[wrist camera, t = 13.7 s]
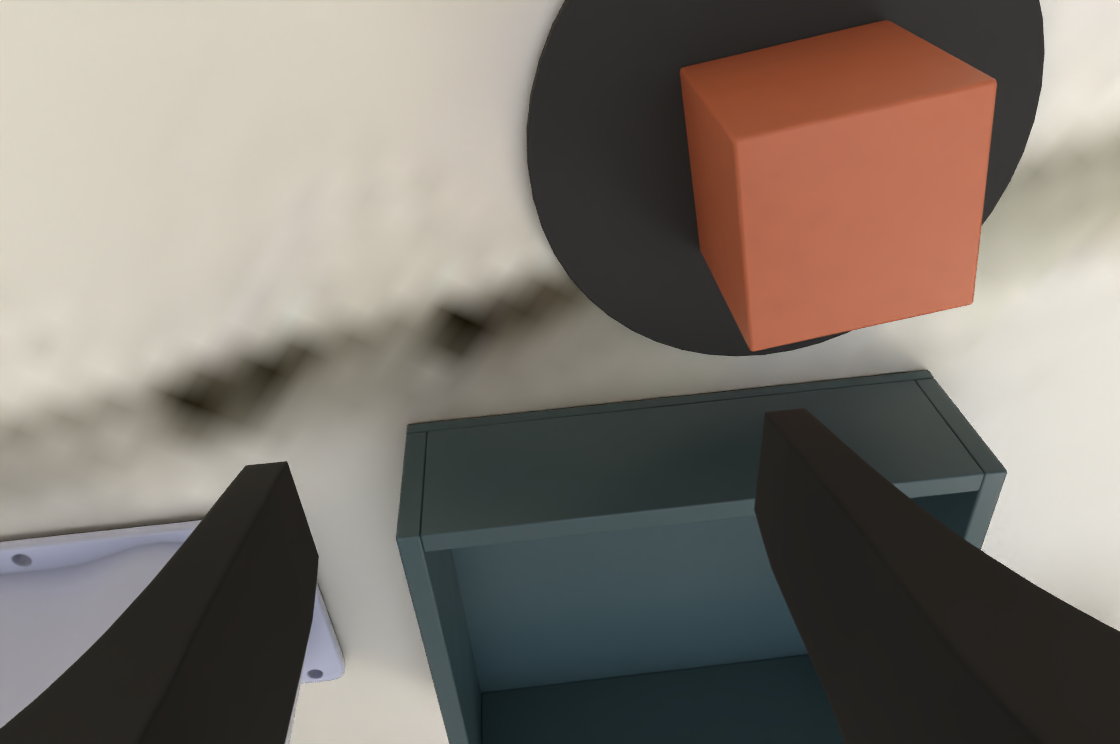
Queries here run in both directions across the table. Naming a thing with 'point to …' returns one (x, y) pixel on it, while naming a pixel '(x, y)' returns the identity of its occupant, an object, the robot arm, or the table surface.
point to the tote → (645, 559)
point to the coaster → (662, 147)
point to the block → (838, 180)
